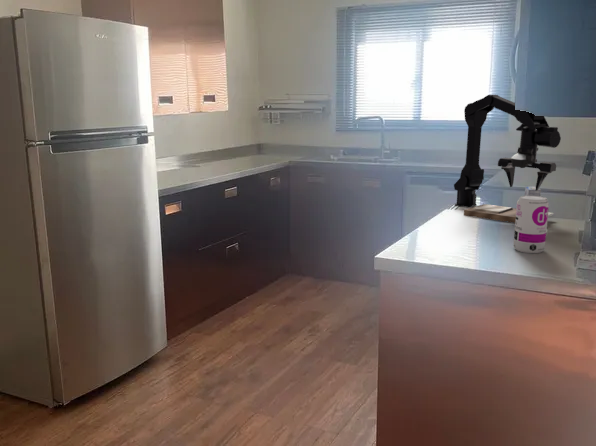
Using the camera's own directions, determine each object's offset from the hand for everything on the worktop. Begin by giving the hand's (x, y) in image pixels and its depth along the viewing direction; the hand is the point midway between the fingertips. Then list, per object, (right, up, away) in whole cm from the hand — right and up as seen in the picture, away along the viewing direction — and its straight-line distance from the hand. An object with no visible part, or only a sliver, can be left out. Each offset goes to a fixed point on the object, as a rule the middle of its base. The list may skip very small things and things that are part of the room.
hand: (523, 188), depth 210 cm
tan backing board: (-7, -10, +3) cm, 12 cm away
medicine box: (+9, -8, +15) cm, 19 cm away
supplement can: (-15, -20, -43) cm, 50 cm away
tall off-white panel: (+3, -10, -6) cm, 12 cm away
